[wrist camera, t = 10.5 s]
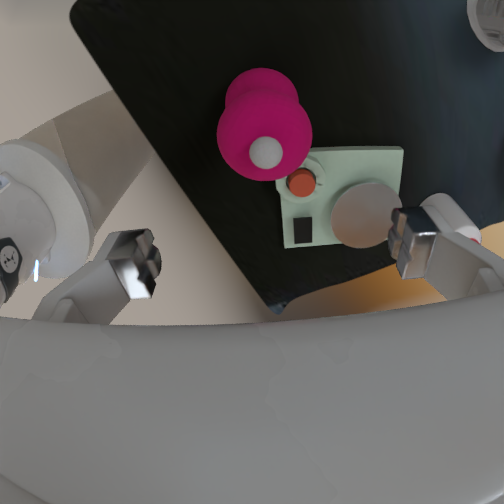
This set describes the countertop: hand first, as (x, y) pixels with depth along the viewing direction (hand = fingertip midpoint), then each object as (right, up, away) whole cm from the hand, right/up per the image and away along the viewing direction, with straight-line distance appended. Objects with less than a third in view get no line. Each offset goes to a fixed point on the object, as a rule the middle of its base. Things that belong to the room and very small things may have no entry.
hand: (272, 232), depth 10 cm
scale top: (+12, +4, +27) cm, 30 cm away
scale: (+11, +7, +28) cm, 31 cm away
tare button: (+5, +8, +24) cm, 26 cm away
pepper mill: (0, +17, +21) cm, 27 cm away
